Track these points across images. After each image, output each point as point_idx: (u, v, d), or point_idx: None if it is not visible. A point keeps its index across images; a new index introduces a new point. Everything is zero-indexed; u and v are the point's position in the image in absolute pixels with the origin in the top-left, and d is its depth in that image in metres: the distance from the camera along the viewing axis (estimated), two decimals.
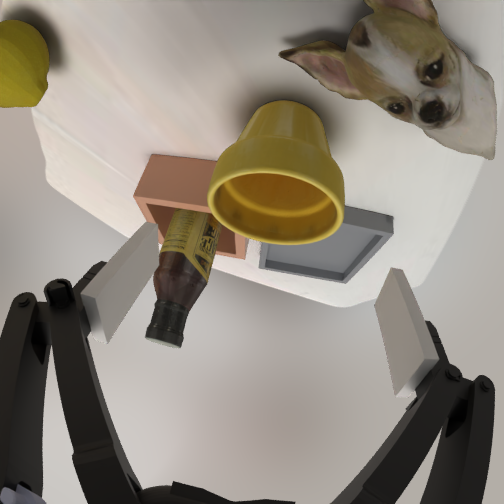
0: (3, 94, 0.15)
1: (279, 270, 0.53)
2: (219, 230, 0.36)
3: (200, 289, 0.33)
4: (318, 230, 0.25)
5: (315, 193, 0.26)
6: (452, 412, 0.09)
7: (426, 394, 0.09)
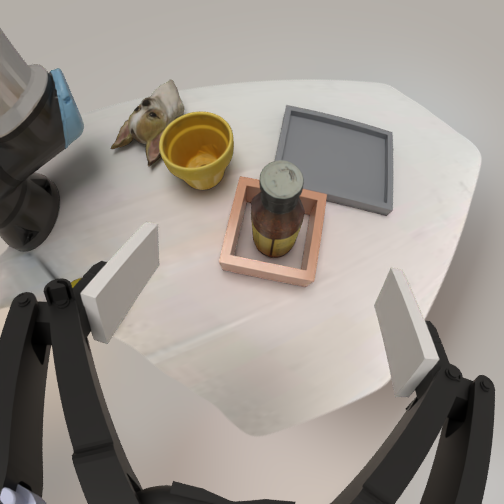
0: None
1: (389, 189, 0.45)
2: None
3: None
4: (220, 123, 0.41)
5: (218, 138, 0.44)
6: (452, 412, 0.09)
7: (426, 394, 0.09)
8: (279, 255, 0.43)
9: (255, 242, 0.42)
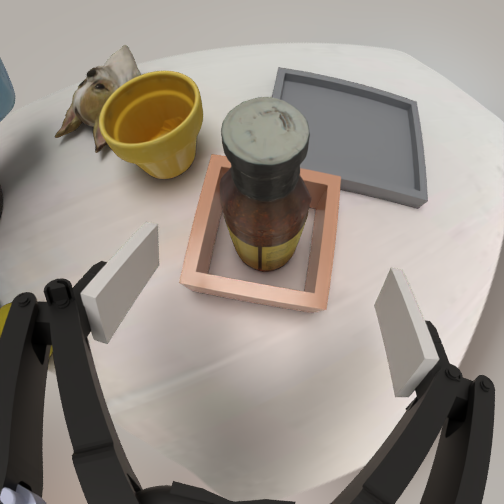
0: None
1: (421, 172, 0.31)
2: None
3: None
4: (184, 83, 0.27)
5: (184, 106, 0.30)
6: (452, 412, 0.09)
7: (426, 394, 0.09)
8: (273, 268, 0.29)
9: (236, 250, 0.28)
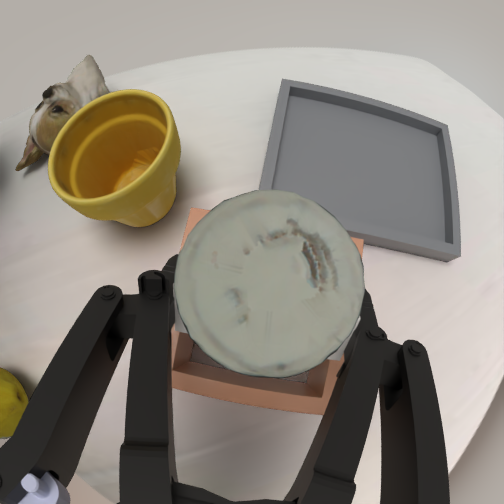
0: None
1: (454, 219, 0.25)
2: None
3: None
4: (155, 106, 0.20)
5: (158, 136, 0.23)
6: (381, 377, 0.11)
7: (352, 360, 0.10)
8: None
9: None
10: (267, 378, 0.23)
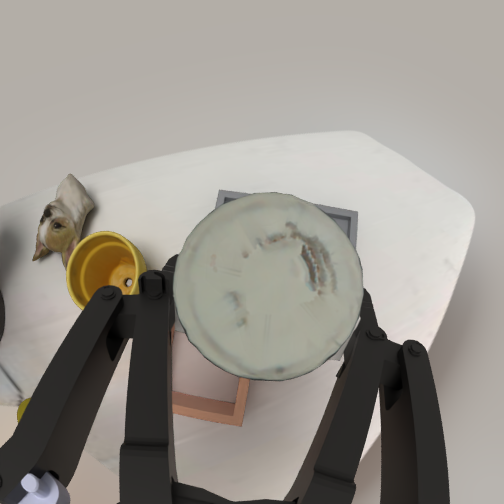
0: None
1: None
2: None
3: None
4: None
5: (132, 256, 0.37)
6: (381, 377, 0.11)
7: (351, 360, 0.10)
8: None
9: None
10: (210, 400, 0.37)
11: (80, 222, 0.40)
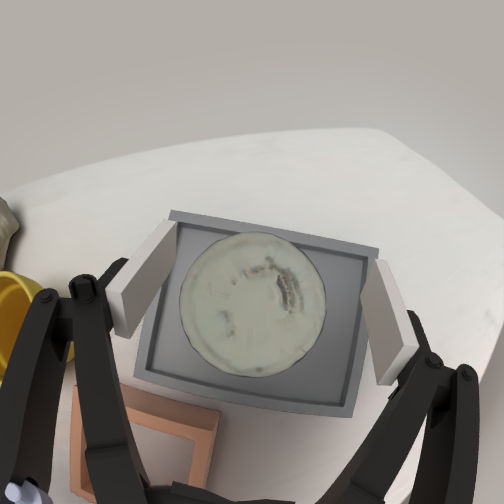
0: None
1: (353, 379, 0.24)
2: None
3: None
4: None
5: None
6: (435, 401, 0.10)
7: (407, 383, 0.09)
8: None
9: None
10: None
11: None
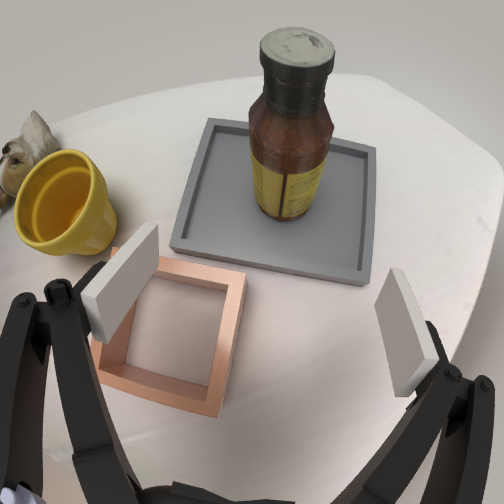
0: None
1: (366, 246, 0.29)
2: None
3: None
4: (86, 164, 0.25)
5: None
6: (452, 412, 0.09)
7: (426, 394, 0.09)
8: (292, 216, 0.29)
9: (257, 196, 0.29)
10: (180, 382, 0.28)
11: None
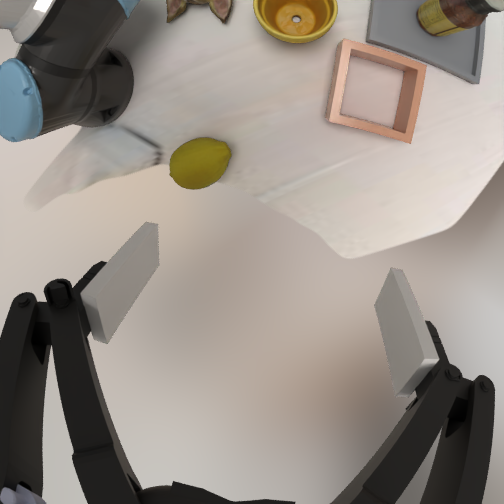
0: (201, 156, 0.41)
1: (478, 63, 0.30)
2: None
3: None
4: None
5: None
6: (452, 412, 0.09)
7: (426, 394, 0.09)
8: None
9: (424, 21, 0.28)
10: (374, 123, 0.41)
11: None
